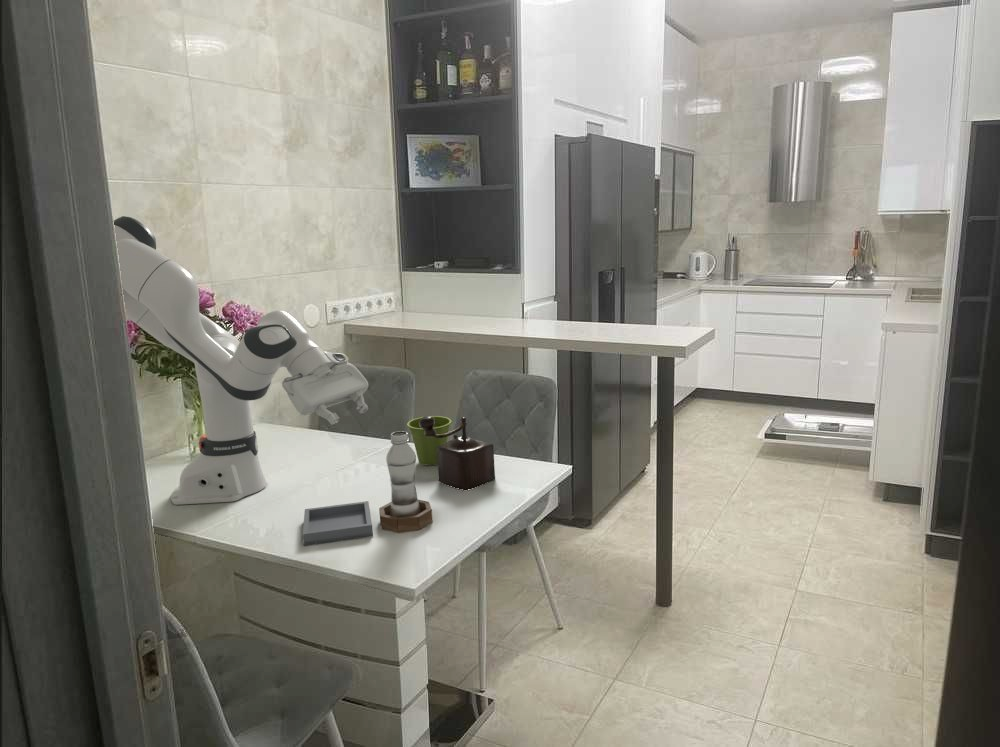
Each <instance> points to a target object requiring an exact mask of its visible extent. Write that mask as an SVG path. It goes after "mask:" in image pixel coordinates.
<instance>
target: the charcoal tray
mask: <svg viewBox="0 0 1000 747" xmlns="http://www.w3.org/2000/svg"><path fill="white" fill-rule="evenodd" d="M303 516H304V517H303V529H302V538H303V545H304V547H307V546H314V545H322V544H331V543H337V542H343V541H350V540H359V539H364V538H371V537H374V532H373V530H374V529H373V524H372V523H373V522H372V515H371V508H370V502H369V501H368V500H367V501H360V502H357V501H356V502H350V503H349V502H348V503H342V504H335V505H327V506H319V507H313V508H312V507H311V508H305V509H304V514H303Z"/></svg>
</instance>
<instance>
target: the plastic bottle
mask: <svg viewBox="0 0 1000 747" xmlns="http://www.w3.org/2000/svg"><path fill="white" fill-rule="evenodd" d="M409 441H410V440H409V433H408V432H407V431H402V430H400V431H399V430H398V431H393V432H392V433H391V434H390V443H391V444H392V445H391V446H390V448H389V450H388V451H387V453H386V458H385V461H386V465H387V469H388V475H389V480H390V488H391V500H390V502H391V512H390V513H391V516H393V517H398V518H400V517H408V516H415V515H418V514H419V513H420V506H419V501H418V500H419V499H418V492H417V487H416V463H417V454H416V452H415V450H414V449H413V448H412V446H410V445H409Z"/></svg>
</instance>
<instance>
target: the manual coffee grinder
mask: <svg viewBox="0 0 1000 747" xmlns="http://www.w3.org/2000/svg"><path fill="white" fill-rule="evenodd" d="M422 417H423V418H422V419H421V420H420V421H419V426H420V427H421V428H422V429H424V430H425V433H424V435H425V436H431V437H435V438H443V437H447V436H448V437H450V436H452V435H453V438H454V439H451V440H449V441H447V443H446V444H444V445H440V446H437V459H438V465H437V470H438V482H439V483H441V484H442V483H443V485H444V484H446V485H445V486H447V485H449V486H448V487H450V486H452V487H451V488H453V487H455V488H454V489H456V488H459V489H458V490H460V489H463V490H462V491H464V490H467V491H469V490H468V489H471V490H473V489H476V488H478V487H480V485H481V486H483V485H486V484H488V483H490V482H492V481H494V480H496V470H495V469H496V468H495V454H494V453H495V451H494V444H493V443H489V442H486V441H483V440H480V439H479V440H478V439H474V438H472V437H470V436H468V435H467V429H466V428H467V426H468V424H467V418H466V417H465V416H463V417H461V419H460V422H461V423H460V425H459V426H457V427H456V428H455V429H452V430H451V431H450V430H449V431H448V433H445V434H441V435H437V434H435V433H436V431H435V430H434V428H433V427H434V424H435V419H434V418H433V417H430V415H425V416H422ZM461 430H462V431H461ZM459 431H461V432H462V434H461V435H462V436H459V437H458V435H456V433H457V432H459ZM448 437H447V438H448ZM487 482H488V483H487ZM485 483H486V484H485ZM482 484H483V485H482ZM477 486H478V487H477ZM475 487H476V488H475ZM472 488H473V489H472Z"/></svg>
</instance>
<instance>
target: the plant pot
mask: <svg viewBox="0 0 1000 747" xmlns="http://www.w3.org/2000/svg"><path fill="white" fill-rule="evenodd" d="M429 416H430V415H429ZM423 417H424V416H421V417H417V418H413V419H411V420H409V421H408V422H407V424H406V426H407V427H408V428H409V431H410V434H411V436H412V440H413V445H414V449H415V451H416V452H415V454H416V458H417V461H418V463H419V464H420V465H421V466H426V465H427V466H431V465H434V466H438V459H437V446H440V445H444V444H446V443H447V442H448V437H449V436H447V437H443V438H435V437H431V436H425V435H424V433H425V430H424V429H422V428H421V427H420V426H419V421H420V420H421V419H422V418H423ZM430 417H433V418H434V419H435V424H434V427H433V428H434V430H435V431H436V433H435V434H437V435H441V434H445V433H448V432H450V424H452V420H451V418H449V417H446V416H442V415H441V416H440V415H431V416H430Z"/></svg>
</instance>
